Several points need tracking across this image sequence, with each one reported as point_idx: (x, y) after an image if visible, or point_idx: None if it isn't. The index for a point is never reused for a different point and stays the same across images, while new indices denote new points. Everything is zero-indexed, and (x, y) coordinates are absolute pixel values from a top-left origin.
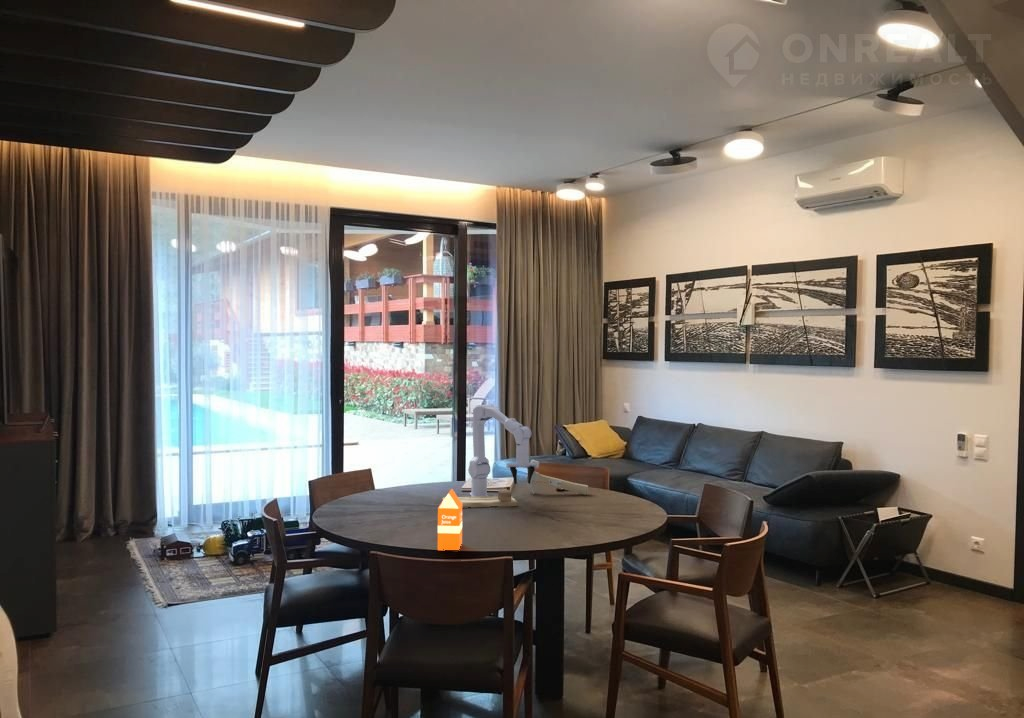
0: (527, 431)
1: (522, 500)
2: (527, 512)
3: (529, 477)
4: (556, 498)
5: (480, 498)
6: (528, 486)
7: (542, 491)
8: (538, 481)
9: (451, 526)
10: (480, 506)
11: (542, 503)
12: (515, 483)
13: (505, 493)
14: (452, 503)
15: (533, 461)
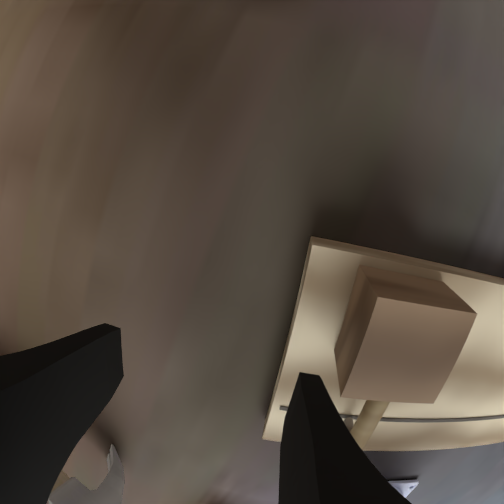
0: None
1: (201, 375)
2: (318, 2)
3: (59, 358)
4: (28, 328)
5: (477, 403)
6: (120, 482)
7: (77, 452)
8: (65, 474)
9: None
10: None
11: (104, 244)
12: (318, 378)
13: (432, 302)
14: None
15: None
